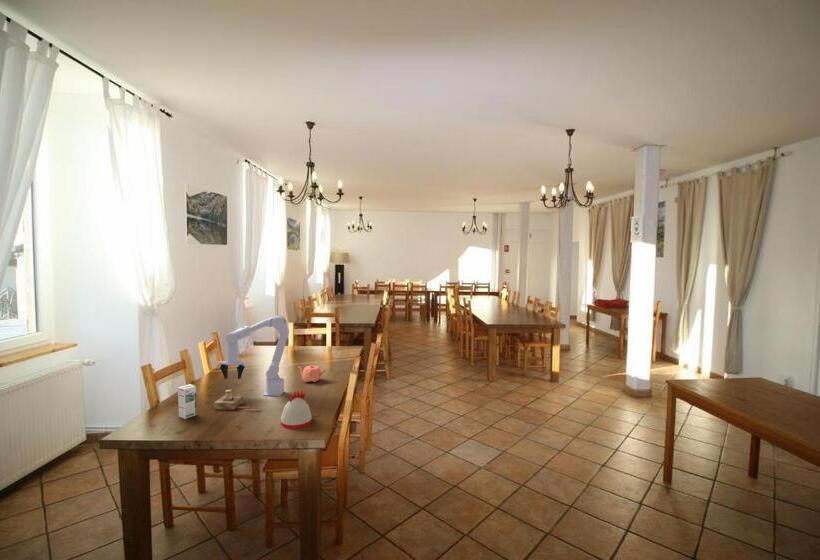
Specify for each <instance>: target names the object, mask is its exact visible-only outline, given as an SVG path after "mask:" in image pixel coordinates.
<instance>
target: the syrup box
mask: <svg viewBox="0 0 820 560" xmlns="http://www.w3.org/2000/svg"><path fill="white" fill-rule="evenodd" d="M177 397H178V398H177V400H178V402H177V403H178V417H180V418H182V419H184V420H186V419H189V418H192V417H195V416H197V415H198V414H197V413H198V411H197V410H198V409H197V385H195V384H190V383H189V384H186V385H183V386H178V388H177Z"/></svg>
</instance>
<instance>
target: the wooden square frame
mask: <svg viewBox="0 0 820 560" xmlns="http://www.w3.org/2000/svg"><path fill="white" fill-rule="evenodd" d="M243 403H244V396H243V395H232V400H231V401H226V395H223V396H221V397H220V398H219V399H216V401H214V402H213V410H221V411H222V410H226V411H227V410H229V411H234V410H235V409H237V408H236V407H240V406H241V405H242V404H243Z"/></svg>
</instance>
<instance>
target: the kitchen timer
mask: <svg viewBox="0 0 820 560" xmlns="http://www.w3.org/2000/svg"><path fill="white" fill-rule="evenodd" d="M305 396H306V392H305V391H303V390H302V389H301V391H300V392H299V390H297V391H296V390H294V391H293V394H292V393H291V394H290V397H291V398H290V397H289V396H287V399H288V402H287V403H286V404H285V405H284V407H283V409H282V413H281V416H280V426H281V427H283V429H289V430H294V429H301V428H305V427H307V426H309V425H310V424H311V423H312V422H313V421H312V412H311V409H310V404H308V403H307V402H306V401H305V400H304V398H305Z"/></svg>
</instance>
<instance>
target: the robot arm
mask: <svg viewBox="0 0 820 560" xmlns="http://www.w3.org/2000/svg"><path fill="white" fill-rule="evenodd" d="M265 327H268V328H272V327H273V328H274V329H275V330H276V331H277V332H278V334H279V336H278V340H277V343H276V347H275V350H274V352H273V356H272V360H271V362H270V364H269V366H268V367H267V370H266V372H265V376H266V377H265V392H264V393H263V396H268V397H269V396H270V397H273V396H274V397H281V396H282V394H284V392H285V379H284V377H283V378H282V377H280V375H279V372H280V363H281V360H282V357H283V353H284V351H285V347H286V345H287V341H288V338H289V335H290V330H289V327H288V324H287V320H286V319H285V317H284V316H283V315H280V314H277V315H275V316H271V317H269V318H265V319H264V320H262V321H259V322H257V323H255V324H253V325H251V326H249V325H242V326H241V327H240V328H238V329H234V330H233V331H230V332H229V333H228V334H227V335H226V337H225V341H226V360H220V361H218V366H219V369H220V371H221V372H222V374H223V378H224V379H225V380H226V379H228V375H229V374H228V373H229V370H228V369H229V366H232V367H233V366H237V367H236V370H237V379H238V380H240V379H241V378H242V375H243V373H244V370H245V368H246V366H247V361H241V360H239V341H241V340H243V339H245V338H248V337H250V336H252V334H253V333H254V332H256V331H258V330H260V329H263V328H265Z"/></svg>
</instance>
